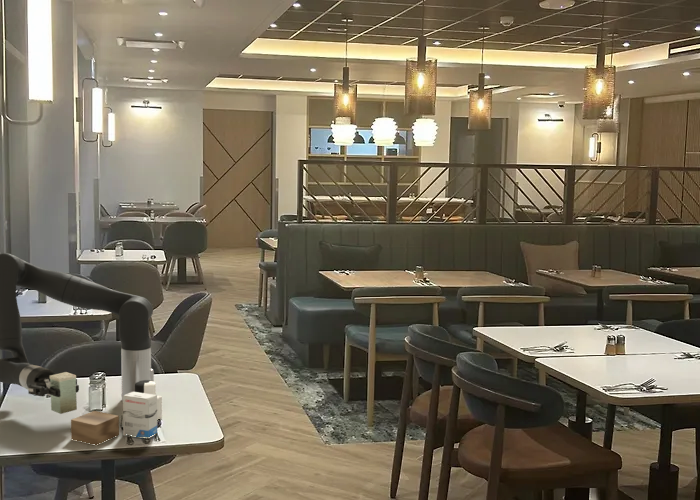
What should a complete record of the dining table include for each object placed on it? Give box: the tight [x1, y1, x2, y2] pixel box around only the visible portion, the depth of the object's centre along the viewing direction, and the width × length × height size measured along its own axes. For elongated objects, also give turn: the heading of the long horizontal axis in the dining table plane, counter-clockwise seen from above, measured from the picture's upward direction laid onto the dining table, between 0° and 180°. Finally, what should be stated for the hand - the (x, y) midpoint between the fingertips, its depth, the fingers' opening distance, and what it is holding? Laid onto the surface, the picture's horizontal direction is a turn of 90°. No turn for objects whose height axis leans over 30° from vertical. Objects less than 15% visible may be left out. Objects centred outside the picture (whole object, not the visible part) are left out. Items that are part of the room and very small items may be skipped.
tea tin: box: [50, 371, 78, 415], centre depth 226 cm, size 5×5×10 cm
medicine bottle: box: [135, 380, 163, 421], centre depth 236 cm, size 7×7×12 cm
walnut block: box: [70, 410, 120, 446], centre depth 221 cm, size 9×9×6 cm
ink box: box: [122, 392, 158, 438], centre depth 224 cm, size 8×5×12 cm, turn 71°
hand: (68, 391), depth 224 cm, fingers closed on tea tin, 5 cm apart
